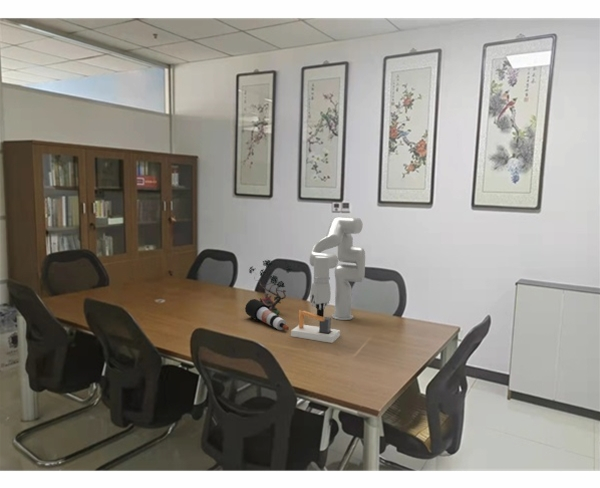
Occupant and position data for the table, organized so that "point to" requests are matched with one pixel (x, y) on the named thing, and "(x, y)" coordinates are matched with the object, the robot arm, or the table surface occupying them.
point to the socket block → (315, 333)
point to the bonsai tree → (267, 299)
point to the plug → (325, 326)
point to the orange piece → (308, 314)
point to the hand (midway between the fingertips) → (320, 316)
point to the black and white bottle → (264, 314)
